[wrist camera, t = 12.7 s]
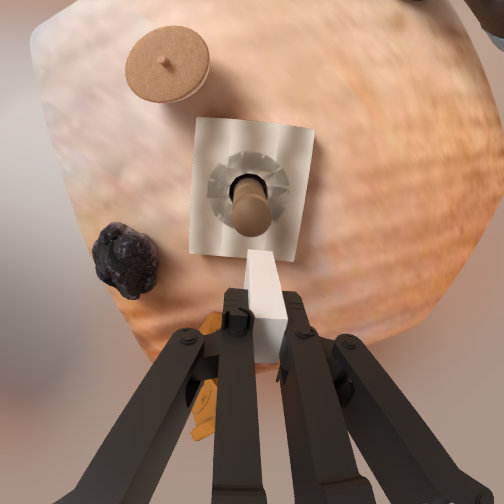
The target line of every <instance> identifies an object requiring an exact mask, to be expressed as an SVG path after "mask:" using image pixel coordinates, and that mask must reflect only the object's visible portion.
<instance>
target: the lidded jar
mask: <svg viewBox="0 0 504 504" xmlns="http://www.w3.org/2000/svg"><path fill="white" fill-rule="evenodd" d="M209 69H210V57H209V51H208V48H207V45H206V43H205V41H204V40H203V39H202V37H201V36H200V35H199V34H197V33H196V32H195V31H193V30H191V29H189V28H186V27H182V26H166V27H161V28H158V29H156V30H153V31H151V32H149V33H148V34H146V35H145V36H143V37H142V38H141V39H140V40H139V41H138V42H137V43H136V44H135V45H134V47H133V48H132V50H131V51H130V53H129V56H128V58H127V61H126V67H125V75H126V80H127V82H128V85H129V87H130V88H131V90H132V91H133V92H134V93H135V94H136V95H137V96H139V97H140V98H142V99H144V100H147V101H150V102H156V103H172V102H178V101H181V100H184V99H186V98H188V97H190V96H191V95H193V94H194V93H195V92H197V91H198V90H199V89H200V87H201V86H202V85H203V84H204V82H205V81H206V78H207V76H208V73H209Z"/></svg>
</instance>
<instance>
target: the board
mask: <svg viewBox="0 0 504 504" xmlns="http://www.w3.org/2000/svg"><path fill="white" fill-rule="evenodd" d="M314 136H315V130H314V129H309V128H303V127H296V126H290V125H283V124H276V123H268V122H259V121H250V120H239V119H226V118H210V117H196V127H195V138H194V151H193V166H192V182H191V203H190V233H189V253H190V254H202V255H214V256H226V257H238V258H247V253H248V249H250V250H262V251H273V256H274V260H276V261H288V262H294V258H295V253H296V248H297V242H298V237H299V231H300V225H301V220H302V214H303V208H304V202H305V196H306V190H307V183H308V177H309V171H310V164H311V157H312V150H313V143H314ZM245 173H249V174H256V175H258V176H259V177H261V178H262V179H263V180H265V182H266V193H265V197H266V200H267V203H268V206H269V209H270V212H271V215H272V221H271V224H270V227H269V228H268V230H267V231H266V232H265V233H263V234H262V235H260V236H257V237H246V236H243V235H241V234H239V233H238V232H237V231H236V230H235V228H234V227H233V224H232V220H231V217H232V208H233V199H234V198H233V196H232V194H231V192H230V185H231V183H232V182H233V181H234V179H235V178H236V177H238V176H240V175H242V174H245Z"/></svg>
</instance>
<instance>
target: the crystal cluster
mask: <svg viewBox="0 0 504 504" xmlns="http://www.w3.org/2000/svg"><path fill="white" fill-rule="evenodd" d="M92 254H93V259H94V262H95V264H96V266H95V267H96V268H95V269H96V273H97V276H98V278H99V279H100V280H102V281H103V282H105V283H106V284H108V285H109V286H113V287H115V288H116V289H117V290H118V291H119V292H120V293H121V295H122V296H123V297H125V298H127V299H128V300H129V299H131V300H136V299H139V297H140V294H141V293H143V294H145V293H147V292H149V291H150V290H152V288H153V287H154V286H155V285H156V281H157V278H156V273H157V271H158V264H159V259H158V257H157V246H156V245H155V244H154V243H153V242H152V240H151V239H150V238H149V237H148V236H147V235H146V234H144V233H138V232H136V231H135V230H133V229H131V228H130V227H127V226H126V225H124V224H122V223H116V222H113V223H110V224H109V225H108V226H107V227H106V228H104V229H103V230H102V231H101V233H100V236H99V239H98V240H96V241H95V243H94V246H93V249H92Z"/></svg>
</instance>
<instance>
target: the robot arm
mask: <svg viewBox="0 0 504 504" xmlns="http://www.w3.org/2000/svg"><path fill="white" fill-rule="evenodd" d="M415 1H420V0H415ZM464 1H465V2H466V4H467V5H468V6H469V8H470V9H471V11H472V12H473V13H474V15H475V16H476V18H477V19H478V21H479V22H480V24H481V27H482V29H483V30H484V31H485V32H486V33H487V34H488V36H489V37H490V39H491V40H492V42H493V43H494V45H495V46H496V47H497V48H498V49H500V50H501V51H503V52H504V0H464ZM304 309H305V308H304V305H303V302H302V299H301V297H300V296H299V295H298V294H297V293H296V292H292V291H282V290H281V286H280V282H279V277H278V273H277V269H276V264H275V260H274V256H273V251H262V250H250V249H248V253H247V263H246V272H245V282H244V289H235V288H229V289H228V290H227V291H226V292H225V294H224V306H223V313H222V324H221V327H220V329H219V330H217V331H216V332H214V333H211V334H207V335H203V334H202V333H201V332H200V331H198V330H196V329H193V328H182V329H179V330H177V331H176V332H175V333H174V334H173V335H172V336H171V338H170V339H169V341H168V342H167V344H166V345H165V347H164V348H163V350H162V351H161V353H160V354H159V356H158V357H157V359H156V360H155V362H154V364H153V365H152V367H151V368H150V370H149V371H148V373H147V374H146V376H145V377H144V379H143V380H142V382H141V384H140V385H139V387H138V388H137V390H136V391H135V393H134V394H133V396H132V397H131V399H130V401H129V402H128V404H127V405H126V407H125V409H124V410H123V412H122V413H121V415H120V416H119V418H118V419H117V421H116V423H115V424H114V426H113V427H112V429H111V431H110V432H109V434H108V435H107V437H106V438H105V440H104V442H103V444H102V445H101V446H100V448H99V450H98V451H97V453H96V455H95V456H94V458H93V459H92V461H91V463H90V464H89V466H88V468H87V469H86V471H85V472H84V474H83V476H82V477H81V479H80V481H79V482H78V484H77V486H76V488H75V489H74V490H73V491H71V492H70V493H68V494H67V495H65V496H64V497H62V498H61V499H59V500H58V501H56V502H55V503H53V504H149V502H150V500H151V497H152V495H153V493H154V491H155V489H156V487H157V485H158V482H159V480H160V478H161V476H162V474H163V472H164V469H165V467H166V465H167V463H168V460H169V458H170V456H171V454H172V452H173V450H174V448H175V445H176V443H177V441H178V439H179V437H180V434H181V432H182V430H183V428H184V426H185V423H186V421H187V419H188V417H189V415H190V412H191V410H192V408H193V406H194V404H195V401H196V399H197V397H198V395H199V392H200V390H201V388H202V386H203V383H204V380H209V379H215V378H218V382H217V399H216V416H215V436H214V457H213V483H212V502H211V504H267V498H266V493H265V490H264V488H263V485H262V471H261V457H260V441H259V425H258V409H257V393H256V377H255V363H268V364H278V360H279V358H280V367H279V371H278V375H277V379H276V382H278V381H279V379H280V386H281V394H282V401H283V409H284V416H285V425H286V432H287V440H288V448H289V456H290V464H291V472H292V480H293V488H294V495H295V496H294V497H295V504H376V501H375V498H374V493H373V490H372V486H371V484H370V482H369V480H368V479H367V478H366V477H363V476H361V475H360V474H359V472H358V469H357V465H356V461H355V457H354V453H353V450H352V446H351V442H350V439H349V435H348V432H349V434H350V435H351V437H352V439H353V440H354V442H355V444H356V445H357V447H358V449H359V451H360V452H361V454H362V456H363V457H364V459H365V461H366V462H367V464H368V466H369V467H370V469H371V471H372V472H373V474H374V476H375V478H376V479H377V481H378V483H379V484H380V486H381V488H382V489H383V491H384V493H385V494H386V496H387V498H388V499H389V501H390V503H391V504H494V496H493V493H492V492H491V491H490V489H488V488H487V487H485V486H484V485H482V484H481V483H479V482H478V481H476V480H475V479H473V478H472V477H470V476H469V475H467V474H465V473H464V472H463V471H461V470H459V468H458V467H457V466H456V464H455V463H454V461H453V460H452V459H451V457H450V456H449V454H448V453H447V452H446V450H445V449H444V448H443V446H442V445H441V443H440V442H439V441H438V439H437V438H436V437H435V435H434V434H433V433H432V431H431V430H430V428H429V427H428V426H427V425H426V423H425V422H424V420H423V419H422V418H421V416H420V415H419V414H418V413H417V411H416V410H415V409H414V407H413V406H412V405H411V403H410V402H409V401H408V399H407V398H406V397H405V396H404V394H403V393H402V392H401V390H400V389H399V388H398V386H397V385H396V384H395V383H394V381H393V380H392V379H391V378H390V376H389V375H388V374H387V372H386V371H385V370H384V369H383V367H382V366H381V365H380V364H379V362H378V361H377V360H376V359H375V357H374V356H373V355H372V354H371V352H370V351H369V350H368V349H367V348H366V346H365V345H364V344H363V342H362V341H361V340H360V339H359V338H358V337H356V336H354V335H351V334H341V335H338V336H337V338H336V339H335V340H331V339H326V338H323V337H320V336H319V335H318V333H317V331H316V330H315V329H314V328H313V327H311V326H310V324H309V321H308V318H307V315H306V311H305V310H304ZM347 430H348V431H347Z"/></svg>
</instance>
